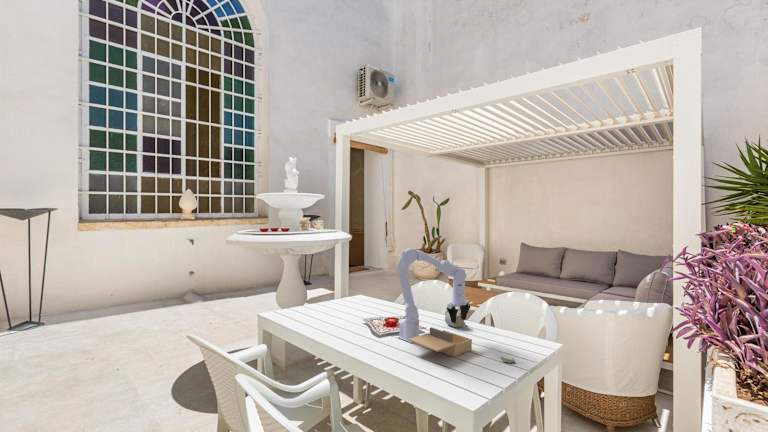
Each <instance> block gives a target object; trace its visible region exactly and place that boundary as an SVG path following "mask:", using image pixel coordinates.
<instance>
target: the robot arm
mask: <svg viewBox="0 0 768 432" xmlns="http://www.w3.org/2000/svg"><path fill="white" fill-rule="evenodd" d="M416 261H417V262H420V261H424V262H426V263H428V264H430V265H432V266H435V267H437V269H438V272H441V273H442V274H445V275H447V276H449V277H453V281H452V282H453V283H452V301H451V302H449V303H447V307H446V310H447V312H449V315H450V318H451V322H452V323H456V316H457V313H458V312H459V310H460V315H461V319H462V320H464V321H466V319H467V316H468V313H469V311H470V309H471V307H472V306H471V305H470V303H471V301H470V299H466V282H465V281H466V279H467V273H466V271H465V270H464V269H463V268H462V267H461V266H459V265H458V264H457V265H456V264H453V263H451V262H450V260H448V259H446V260H445V259H443V260H439V259H437V258H435V257H433V256H432V255H429V254H428V253H426V252H424V251H422V250H418V249H415V248H414V247H407V248H405V249H404V250H403V252H402V253H401V255H400V258H399V260H398V262H397V265H396V268H397V269H396V270H397V273H398V278H399V282H400V286H401V287H400V288H401V291H402V296H403V301H404V307H405V308H404V309H405V311H404V312H405V317H404V318H403V319H401V320H400V322H399V331H398V332H399V333H398V334H399V336H397V338H398V339H401V340H403V341H405V342H407V343H411V344H413V343H414V342H411V341H409V340H408V339H410V338H413V337H417V336H420V319H419V317H420V316H419V310H418V308H417V306H416V305H415V300H414V296H413V291H412V287H411V283H410V278H409V273H408V268H409V267H410V265H411V264H413V263H414V262H416ZM457 307H459V309H457Z"/></svg>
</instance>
